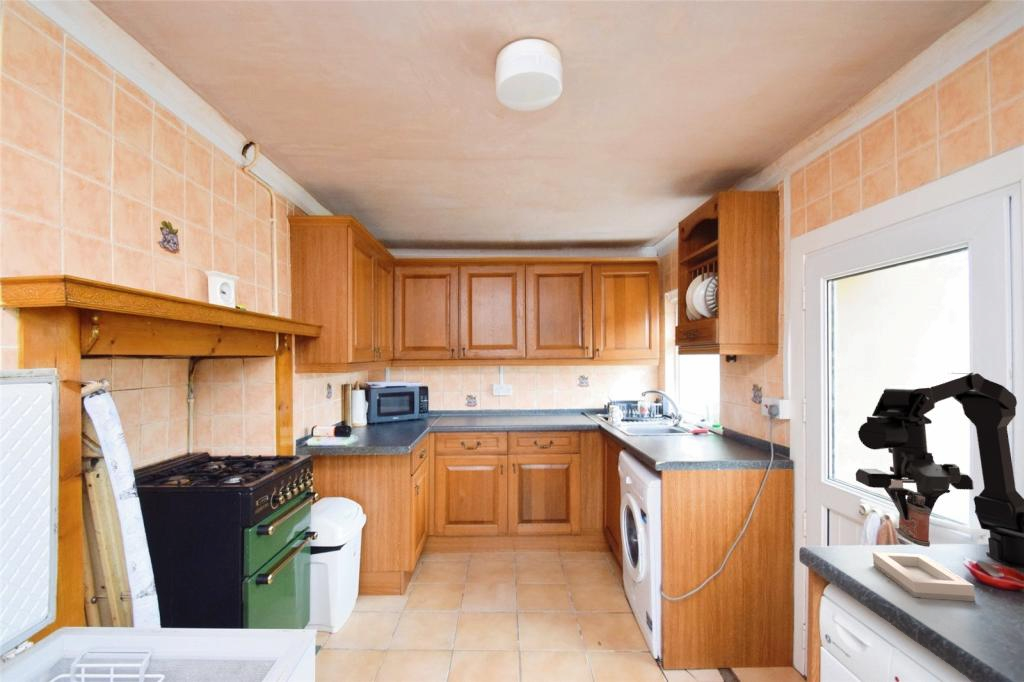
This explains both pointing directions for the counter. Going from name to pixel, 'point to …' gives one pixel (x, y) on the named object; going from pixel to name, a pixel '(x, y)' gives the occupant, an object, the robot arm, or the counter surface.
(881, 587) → the counter surface
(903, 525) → the lighter
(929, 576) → the tray
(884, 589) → the counter surface
